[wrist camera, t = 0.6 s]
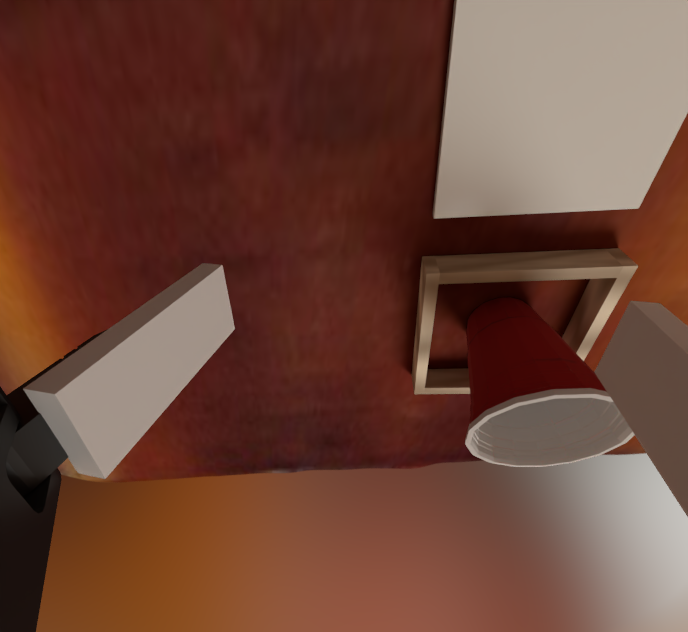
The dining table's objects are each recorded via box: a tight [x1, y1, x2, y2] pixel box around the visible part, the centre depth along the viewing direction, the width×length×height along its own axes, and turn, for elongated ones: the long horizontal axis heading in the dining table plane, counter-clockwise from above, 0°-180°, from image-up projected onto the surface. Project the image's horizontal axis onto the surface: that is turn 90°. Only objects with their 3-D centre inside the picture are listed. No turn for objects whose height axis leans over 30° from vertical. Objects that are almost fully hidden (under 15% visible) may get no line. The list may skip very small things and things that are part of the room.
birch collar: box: [412, 248, 638, 394], centre depth 31 cm, size 15×15×2 cm
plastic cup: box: [465, 297, 635, 467], centre depth 27 cm, size 11×11×12 cm
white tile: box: [433, 0, 688, 219], centre depth 20 cm, size 14×14×1 cm
